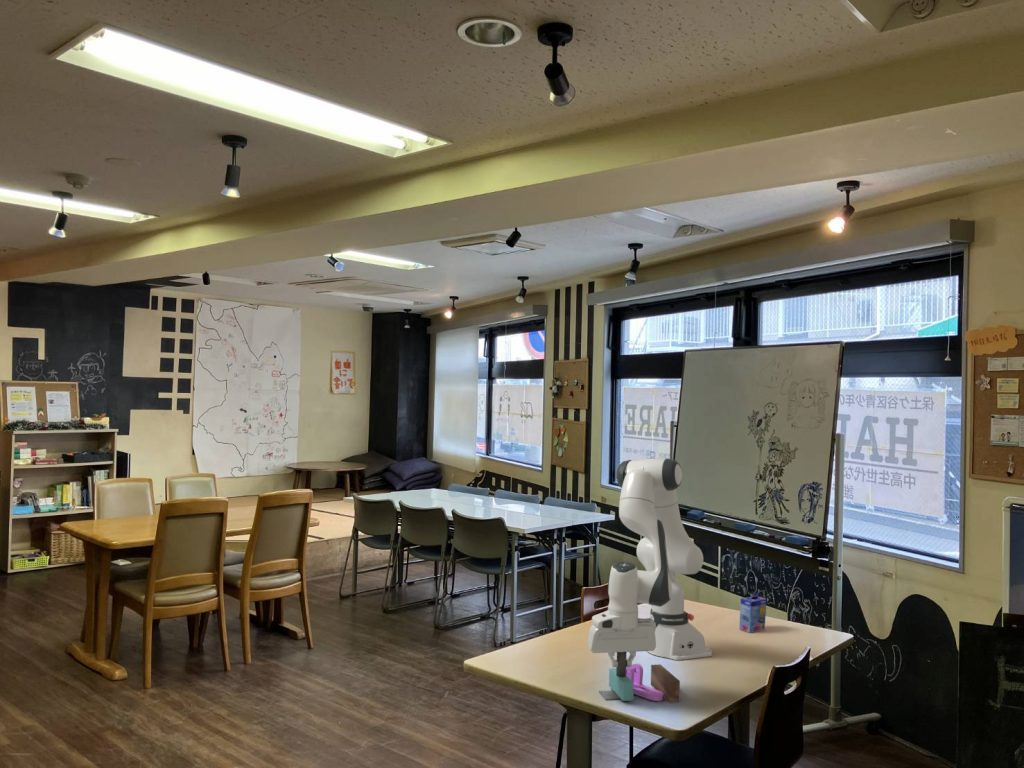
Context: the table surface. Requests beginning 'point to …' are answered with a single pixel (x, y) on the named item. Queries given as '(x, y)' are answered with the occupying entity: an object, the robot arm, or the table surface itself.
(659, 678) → the base
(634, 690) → the bracket
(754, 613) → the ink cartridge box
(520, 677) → the table surface
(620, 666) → the clamp jaw
